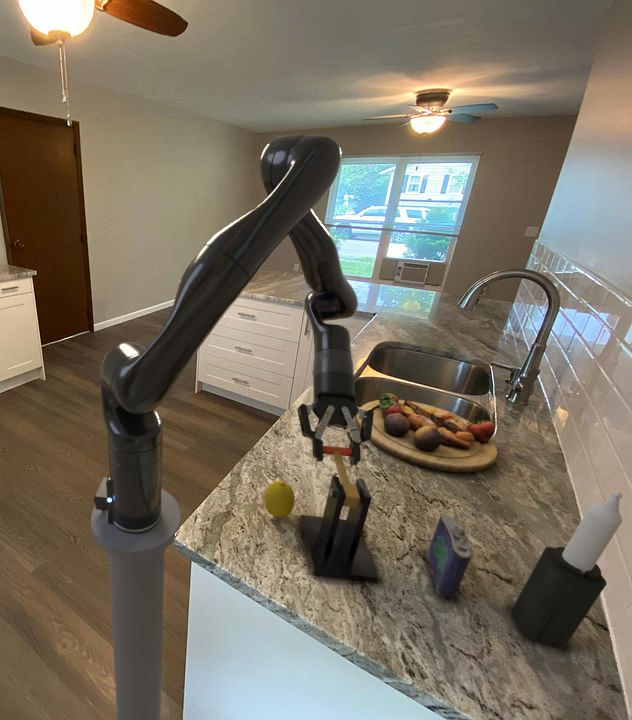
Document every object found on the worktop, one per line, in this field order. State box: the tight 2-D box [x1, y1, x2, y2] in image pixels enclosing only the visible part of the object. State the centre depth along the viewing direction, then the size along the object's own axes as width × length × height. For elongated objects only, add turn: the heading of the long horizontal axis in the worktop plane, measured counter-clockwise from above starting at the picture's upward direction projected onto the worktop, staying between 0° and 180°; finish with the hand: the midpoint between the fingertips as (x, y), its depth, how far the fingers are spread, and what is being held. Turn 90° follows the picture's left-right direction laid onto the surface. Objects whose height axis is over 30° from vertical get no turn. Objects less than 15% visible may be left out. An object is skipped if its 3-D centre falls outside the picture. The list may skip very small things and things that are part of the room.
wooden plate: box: [355, 392, 499, 473], centre depth 101 cm, size 32×32×8 cm
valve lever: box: [323, 444, 360, 508], centre depth 67 cm, size 12×5×2 cm, turn 173°
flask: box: [425, 514, 472, 601], centre depth 62 cm, size 9×3×11 cm, turn 162°
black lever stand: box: [300, 475, 379, 584], centre depth 65 cm, size 12×10×14 cm
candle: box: [511, 491, 623, 649], centre depth 51 cm, size 5×5×25 cm
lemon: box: [263, 480, 295, 518], centre depth 73 cm, size 6×6×8 cm
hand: (336, 462), depth 71 cm, fingers closed on valve lever, 5 cm apart
